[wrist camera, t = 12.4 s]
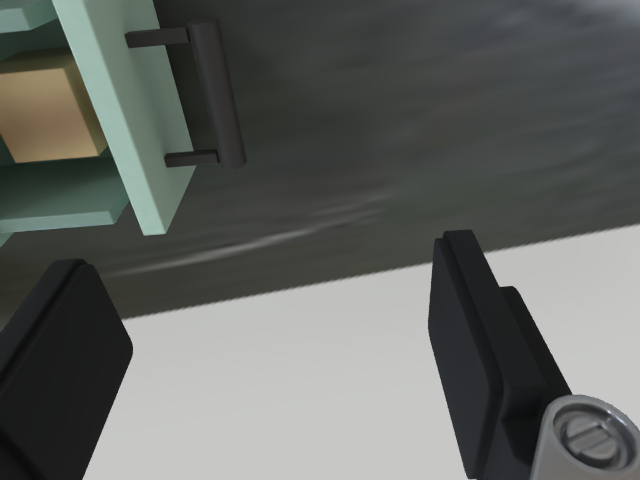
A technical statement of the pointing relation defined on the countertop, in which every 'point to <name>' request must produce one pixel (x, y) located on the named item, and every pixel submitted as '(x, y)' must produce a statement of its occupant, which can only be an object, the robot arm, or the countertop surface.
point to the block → (47, 108)
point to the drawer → (118, 115)
